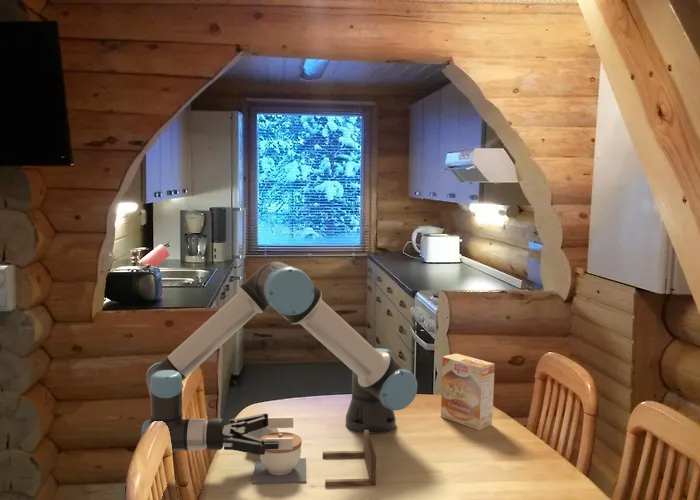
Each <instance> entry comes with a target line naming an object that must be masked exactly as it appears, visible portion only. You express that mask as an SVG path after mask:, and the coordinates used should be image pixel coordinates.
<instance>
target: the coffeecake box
mask: <svg viewBox="0 0 700 500" xmlns="http://www.w3.org/2000/svg"><path fill="white" fill-rule="evenodd" d="M495 364H496V363H494V362H489V361H486V360H483V359H479V358H475V357H472V356H468V355H463V354H460V353H452V354H449V355H448V354H447V355H444V356H442V372H441V374H442V375H441V377H442V378H441V398H440V399H441V400H440V401H441V402H440V417H441V418H443V419H447V420H450V421H452V422H455V423H458V424H461V425H463V426H467V427H469V428H471V429H475V430H477V431H482V430H483V429H485V428H488V427H491V426H493V412H494V411H493V409H494V391H495V390H494V387H495V386H494V385H495V366H496V365H495Z"/></svg>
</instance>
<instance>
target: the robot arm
mask: <svg viewBox="0 0 700 500" xmlns="http://www.w3.org/2000/svg"><path fill="white" fill-rule="evenodd" d="M322 294H323V293H322V290H320V289H319V288H318V287H317V286H316V285H315V284H314V283H313V282H312V280H311V278H310V276H309V275H308V274H307V273H306V271H304V270H302V269H300V268H298V267H295V266H291V265H289V264H287V263H285V262H283V261H270V262H268V263H266V264H263V265H262V266H261V267H259V268H258V269H257V270H256V271H255V272H253V273H252V274H251V275H250V276H249V277H248V278H247V279H245V281H243V282H242V283H241V285H239V286H238V290H237V293H236V294H235V295H233V297H231V299H229V300H228V301H227V302H226V303H225V304H224V305H222V307H221V308H220V309H218V310H217V311H216V312H215V313H214V314H213V315H212V316H210V317H209V318H208V319H207V320H206V321H205V322H204V323H203V324H202V325H200V326H199V327H198V329H197V328H196V330H195V331H194V332H193V333H191V335H190V336H188V337H187V339H185V340H184V341H182V343H181V344H180V345H179V346H178V347H176V349H174V350H173V351H172V352H171V353H170V354H169V355H168V356H167V357H165V358H164V359H163V360H162V361H159V362H156V363H153V364H152V365H150V367H149V368H148V369H147V371H146V374H145V384H146V387H147V388H148V394H149V397H150V414H151V415H150V419H146V420H145V421H144V422H143V424H142V427H141V435H140V436H141V437H142V435H143V434H144V432H145V431H146V429H147V428H148V426H149V425H150V424H151V423H152V422H154V421H163V422H165V423H166V425H167V426H168V428H169V431H170V436H171V443H172V451H171V452H173V451H174V452H175V451H176V452H177V451H178V452H179V451H193V452H198V451H204V450H205V449H207V450H208V451H220V450H222V449H223V450H226V451H237V452H241V453H246V454H252V455H256V456H257V455H258V456H260V455H264V454H265V450H293V437H290V438H265V440H262V439H259V438H256V437H253V436H250V435H247V434H248V433H249V432H252V431H255V430H258V429H261V428H264V427H267V426H268V428H277V429H291V428H294V416H270V417H269V413H260V414H256V415H252V416H251V415H249V416H245V417H240V418H231V419H229V420H228V421H229V422H228V423H229V424H225V420H224V418H222V417H221V418H219V417H217V418H215V417H214V418H209V419H208V420H207V418H183V414H184V413H183V389H184V386H183V381H184V380H185V379H186V378H187V377H189V375H191V374H192V373H193V372H194V371H195V370H196V369H197V368H198V367H199V366H200V365H202V363H204V362H205V360H207V359H208V358H209V357H210V356H212V355H213V354H214V353H215V352H216V351H217V350H218V349H219V348H220V347H221V346H222V345H223V344H225V343H226V341H228V340H229V339H230V338H231V337H232V336H233V335H234V334H235V333H236V332H238V330H240V329H241V328H242V327H243V326H244V325H246V323H247V322H248V321H250V320H251V319H252V318H253V317H254V316H255V315H256V314H262V313H264V312H265V311H266V310H267V309H268V308H270V307H271V308H273V310H275V311H276V312H277V313H278V314H279V315H281V317H283V318H284V319H285V320H286V321H287V322H288V323H290V324H291V325H301V326H302V327H303V329H305V330H306V331H307V332H308V333H309V334H311V335H312V336H313V337H314V338H315V339H316V340H317V341H319V342H320V343H321V344H322V346H324V347H326V349H327V350H328V351H330V352H331V353H332V354H333V355H334V356H335V357H336V358H338V359H339V360H340V361H341V362H342V363H343V365H346V366H347V368H349V370H351V400H350V403H349V405H348V408H347V412H346V415H345V425H346V427H347V428H349V429H350V430H352V431H354V432H357V433H358V432H360V433H363V434H364V430H369V433H370V434H382V433H385V432H389V431H392V430H393V429H395V428H396V421H397V420H396V419H397V418H396V414H395V411H396V412H397V411H401V410H405V409H406V408H407V407H409V406H410V405H411V404H412V403H413V401H414V400H415V398H416V396H417V394H418V380H417V378H416V376H415V375H414V374H413V373H412V371H410V370H408V369H406V368H404V367H403V366H402V365H401V364H400V363H399V362H398V361H397V360H395V359H394V357H393V355H392V350H390V349H388V348H382V347H381V348H378V347H377V348H375V347H373V346H372V344H370V343H369V342H368V341H367V340H366V339H365V338H364V337H363V336H362V335H361V334H360V333H358V332H357V331H356V329H354V328H353V327H352V325H350V324H349V323H348V322H347V321H346V320H344V319H343V318H342V317H341V316H340V315H339V314H338V313H337V312H336V311H335V310H334V309H333V308H332V307H330V306H329V304H327V303H326V302H325V301H324V300H323V299H322V298H323V295H322ZM141 437H140V438H141Z"/></svg>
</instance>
